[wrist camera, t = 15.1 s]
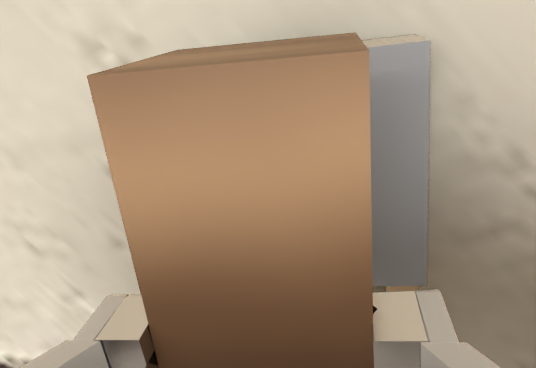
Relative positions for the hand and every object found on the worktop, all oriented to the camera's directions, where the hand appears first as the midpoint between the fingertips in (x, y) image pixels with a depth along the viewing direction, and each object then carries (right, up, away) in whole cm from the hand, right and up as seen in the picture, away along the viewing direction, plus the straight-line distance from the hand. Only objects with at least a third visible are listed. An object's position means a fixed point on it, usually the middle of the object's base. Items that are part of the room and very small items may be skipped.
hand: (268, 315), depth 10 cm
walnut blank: (0, +2, +3) cm, 3 cm away
